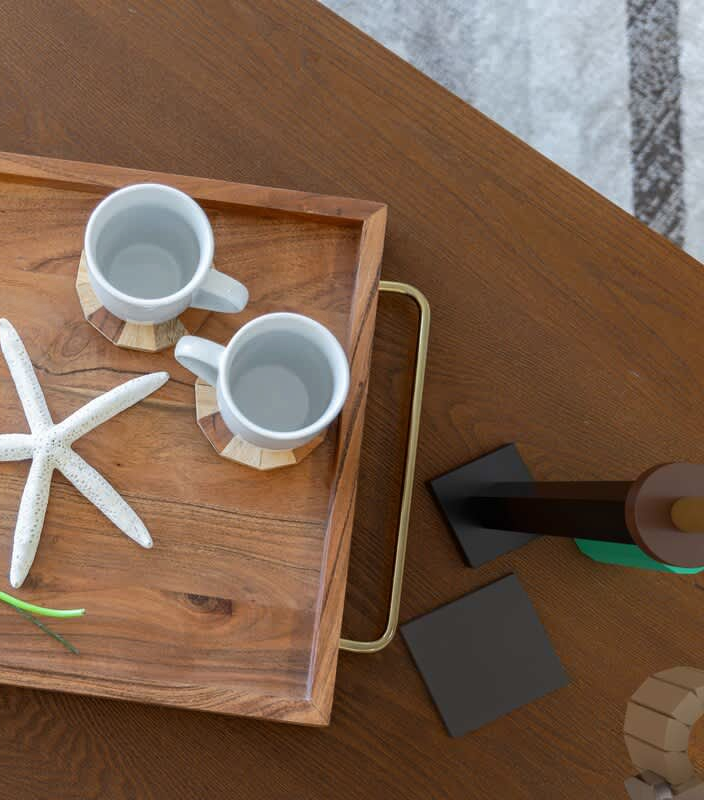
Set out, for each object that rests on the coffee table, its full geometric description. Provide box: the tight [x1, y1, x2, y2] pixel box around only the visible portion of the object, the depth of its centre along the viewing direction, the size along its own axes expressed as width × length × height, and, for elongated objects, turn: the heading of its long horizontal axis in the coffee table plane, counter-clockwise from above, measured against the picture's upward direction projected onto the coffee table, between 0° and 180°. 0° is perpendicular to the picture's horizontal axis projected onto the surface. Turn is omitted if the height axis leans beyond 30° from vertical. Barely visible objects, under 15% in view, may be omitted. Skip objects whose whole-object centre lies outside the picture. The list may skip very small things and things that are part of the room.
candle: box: [573, 538, 704, 575], centre depth 69 cm, size 6×6×12 cm
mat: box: [397, 571, 571, 740], centre depth 74 cm, size 10×11×1 cm
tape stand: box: [423, 442, 704, 570], centre depth 60 cm, size 8×8×31 cm
